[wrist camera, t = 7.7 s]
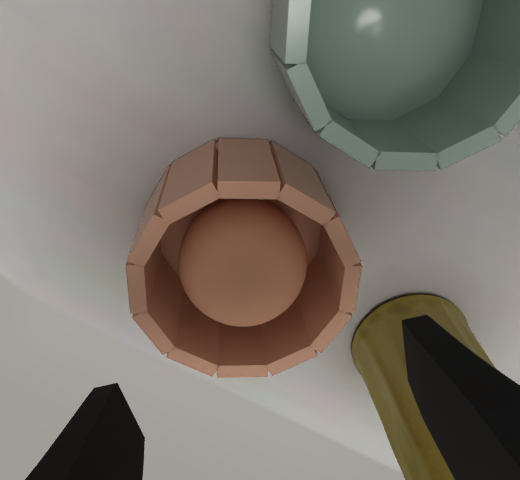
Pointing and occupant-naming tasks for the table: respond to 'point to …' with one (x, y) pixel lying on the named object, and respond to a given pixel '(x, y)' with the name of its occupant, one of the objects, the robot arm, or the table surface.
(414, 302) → the vase
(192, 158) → the salmon slatted bowl
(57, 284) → the table surface
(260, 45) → the table surface
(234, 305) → the ball
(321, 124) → the green faceted bowl
